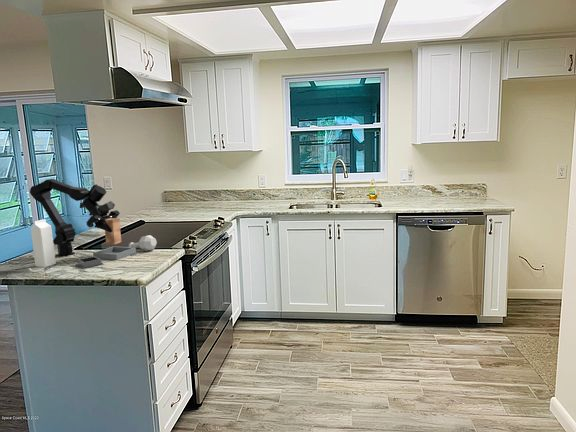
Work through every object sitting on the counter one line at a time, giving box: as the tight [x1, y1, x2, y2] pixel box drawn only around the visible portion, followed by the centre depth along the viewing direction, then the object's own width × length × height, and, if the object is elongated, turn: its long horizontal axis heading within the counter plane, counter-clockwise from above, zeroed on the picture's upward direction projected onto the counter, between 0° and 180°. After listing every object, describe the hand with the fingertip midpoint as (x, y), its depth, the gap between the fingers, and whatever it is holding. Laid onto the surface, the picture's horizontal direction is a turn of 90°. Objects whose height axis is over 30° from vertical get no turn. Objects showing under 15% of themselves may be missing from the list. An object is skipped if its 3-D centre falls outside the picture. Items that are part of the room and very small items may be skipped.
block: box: [104, 217, 122, 245], centre depth 213 cm, size 5×5×12 cm
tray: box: [92, 245, 137, 261], centre depth 215 cm, size 14×14×4 cm
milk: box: [30, 218, 57, 268], centre depth 200 cm, size 6×6×22 cm
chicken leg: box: [128, 234, 158, 252], centre depth 229 cm, size 8×18×8 cm, turn 63°
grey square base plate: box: [74, 256, 105, 270], centre depth 199 cm, size 10×10×3 cm
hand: (115, 230), depth 212 cm, fingers closed on block, 5 cm apart
